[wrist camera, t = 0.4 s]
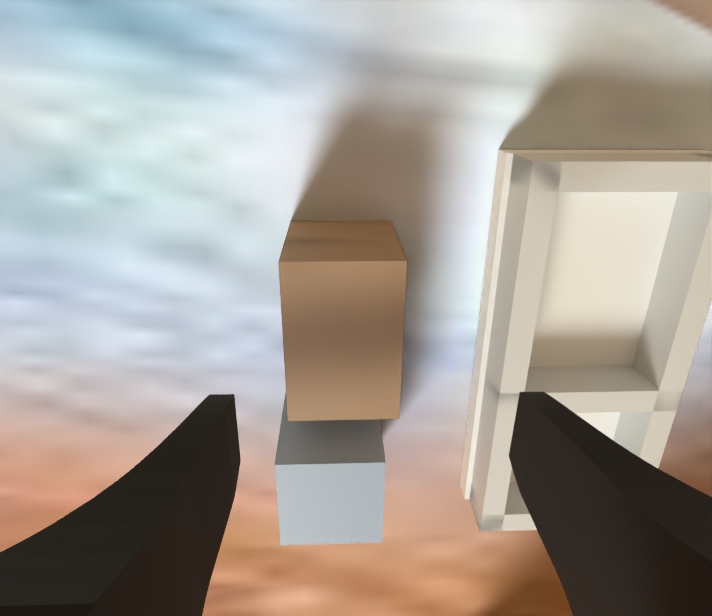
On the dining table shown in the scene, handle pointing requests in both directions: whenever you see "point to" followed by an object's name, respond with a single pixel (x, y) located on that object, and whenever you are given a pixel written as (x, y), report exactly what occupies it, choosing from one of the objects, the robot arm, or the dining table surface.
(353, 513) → the grey rectangular prism
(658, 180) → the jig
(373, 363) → the tan cardboard carton
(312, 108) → the dining table surface
